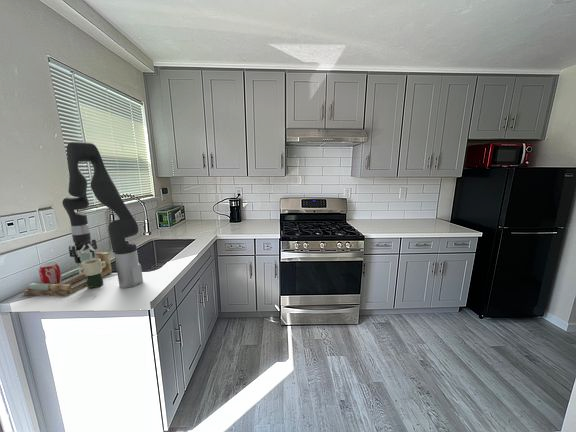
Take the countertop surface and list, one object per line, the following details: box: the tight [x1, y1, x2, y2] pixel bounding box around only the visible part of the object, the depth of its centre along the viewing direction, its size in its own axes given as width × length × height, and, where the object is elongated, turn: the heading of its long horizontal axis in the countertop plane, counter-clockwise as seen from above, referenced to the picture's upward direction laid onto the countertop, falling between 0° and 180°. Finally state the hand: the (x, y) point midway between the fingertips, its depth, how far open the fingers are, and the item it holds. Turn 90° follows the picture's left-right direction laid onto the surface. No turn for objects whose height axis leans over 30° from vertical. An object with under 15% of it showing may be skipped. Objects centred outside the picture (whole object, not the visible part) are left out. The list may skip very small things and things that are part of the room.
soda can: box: [38, 262, 63, 284], centre depth 115 cm, size 7×7×12 cm
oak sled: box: [49, 251, 113, 295], centre depth 121 cm, size 10×25×11 cm, turn 176°
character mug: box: [78, 258, 106, 288], centre depth 116 cm, size 11×7×13 cm, turn 152°
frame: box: [23, 270, 71, 297], centre depth 119 cm, size 22×23×2 cm
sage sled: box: [28, 251, 94, 291], centre depth 122 cm, size 10×25×11 cm, turn 176°
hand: (85, 260), depth 133 cm, fingers open, 8 cm apart
